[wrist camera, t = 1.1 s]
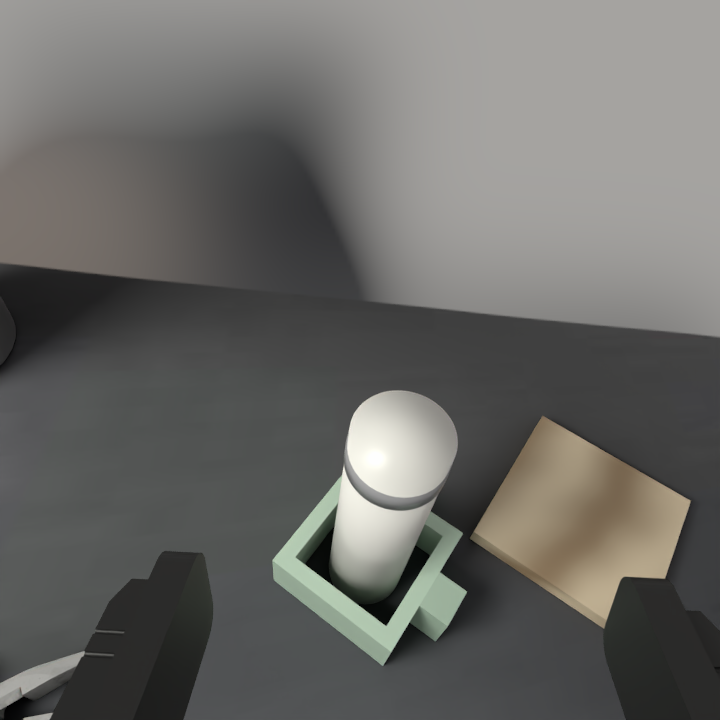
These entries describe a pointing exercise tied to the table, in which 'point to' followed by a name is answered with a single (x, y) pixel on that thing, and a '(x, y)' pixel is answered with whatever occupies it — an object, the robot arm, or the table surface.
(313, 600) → the collar
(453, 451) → the thermos bottle
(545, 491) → the oak pad
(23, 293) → the table surface
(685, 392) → the table surface
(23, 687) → the pliers
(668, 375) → the table surface
